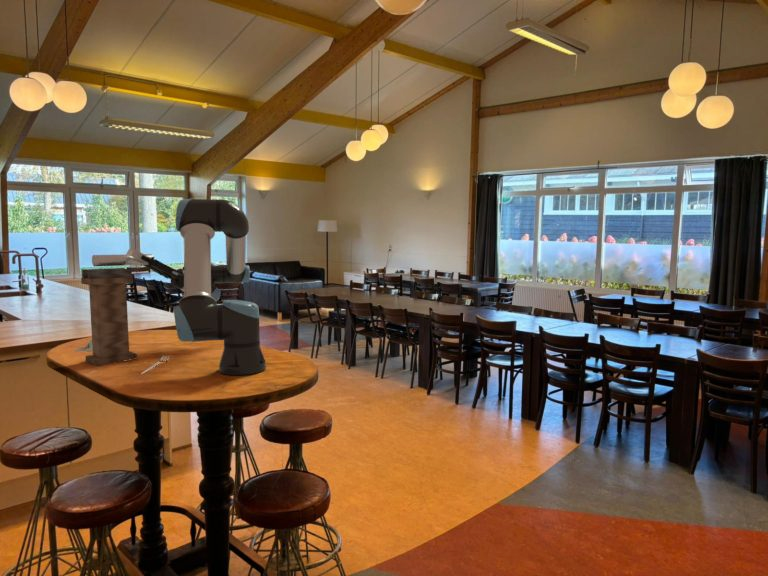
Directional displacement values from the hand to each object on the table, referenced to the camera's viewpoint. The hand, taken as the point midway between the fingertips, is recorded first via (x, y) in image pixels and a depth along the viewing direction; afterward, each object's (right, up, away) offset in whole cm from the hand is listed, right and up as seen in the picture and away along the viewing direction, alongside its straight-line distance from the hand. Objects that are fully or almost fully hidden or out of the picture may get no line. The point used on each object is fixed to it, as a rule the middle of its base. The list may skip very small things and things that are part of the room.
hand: (130, 252), depth 194 cm
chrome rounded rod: (-2, -5, -1) cm, 5 cm away
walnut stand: (-6, -39, -2) cm, 40 cm away
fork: (+14, -41, -12) cm, 45 cm away
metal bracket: (-20, -38, +19) cm, 47 cm away
